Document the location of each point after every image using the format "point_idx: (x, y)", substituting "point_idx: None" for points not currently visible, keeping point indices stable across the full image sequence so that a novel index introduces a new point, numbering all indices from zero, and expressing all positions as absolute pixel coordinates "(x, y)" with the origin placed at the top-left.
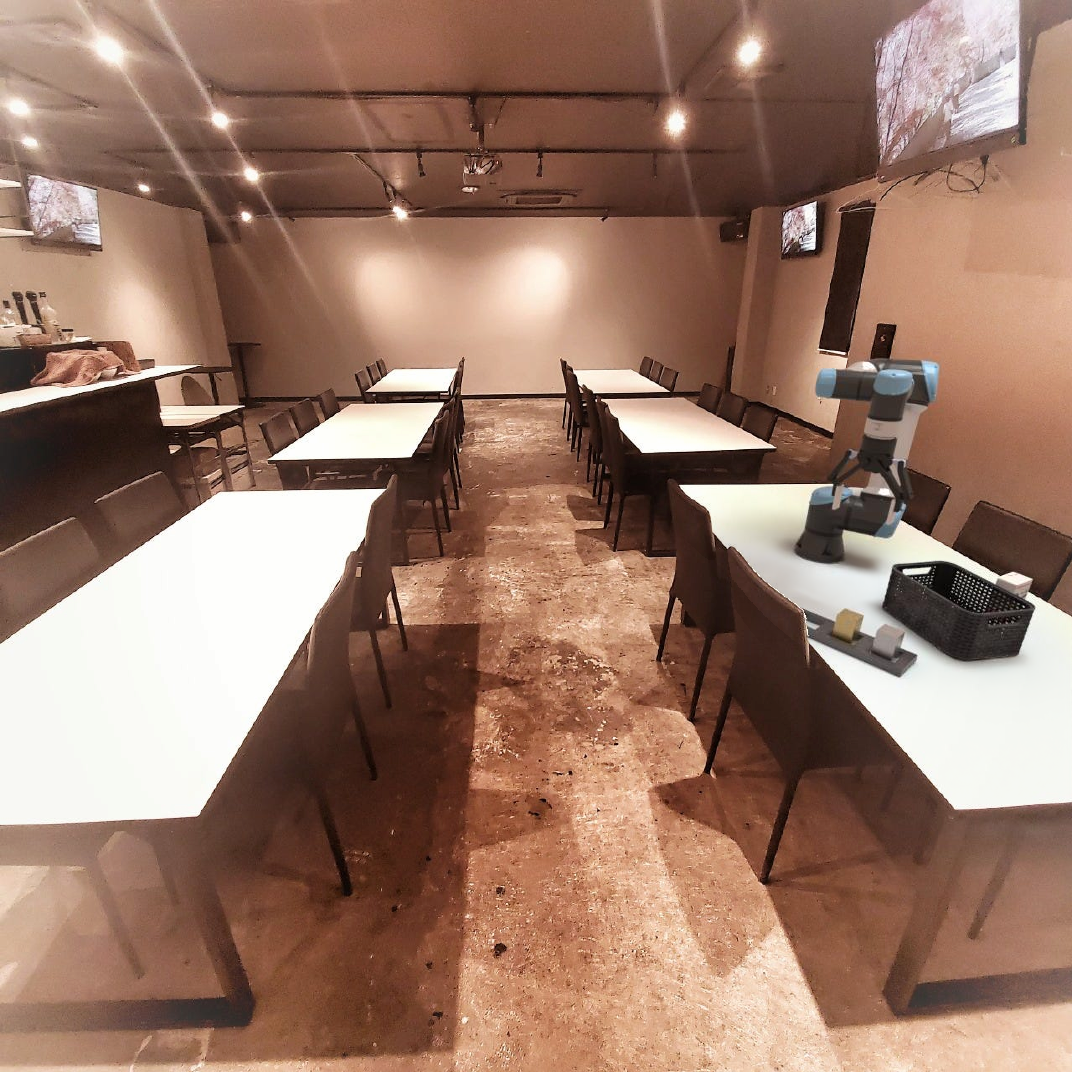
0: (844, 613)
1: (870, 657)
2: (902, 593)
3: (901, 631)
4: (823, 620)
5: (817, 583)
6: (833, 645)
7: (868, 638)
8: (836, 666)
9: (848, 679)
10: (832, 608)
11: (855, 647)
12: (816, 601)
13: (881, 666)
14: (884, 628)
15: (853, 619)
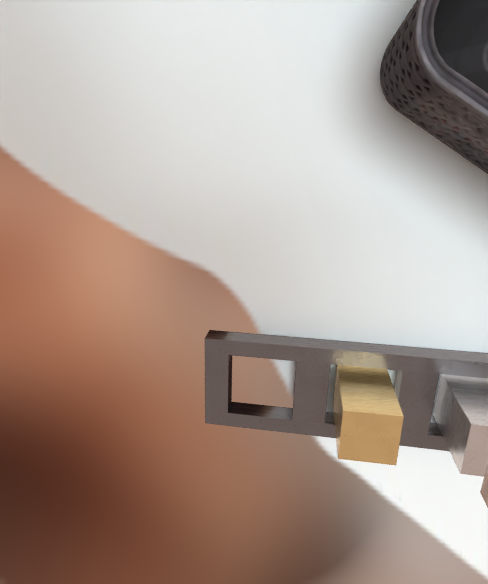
0: (352, 440)
1: (443, 448)
2: (474, 133)
3: None
4: (287, 359)
5: (152, 86)
6: None
7: (415, 374)
8: (382, 489)
9: (418, 517)
10: (265, 230)
11: (401, 436)
12: (212, 222)
13: None
14: (476, 451)
15: (386, 458)
